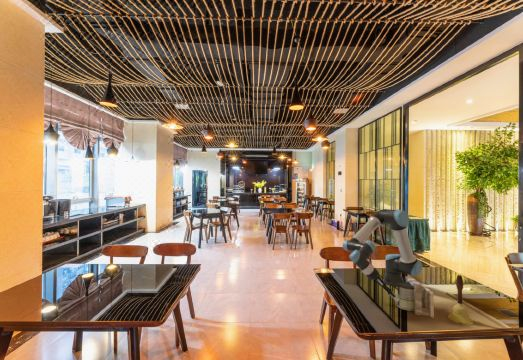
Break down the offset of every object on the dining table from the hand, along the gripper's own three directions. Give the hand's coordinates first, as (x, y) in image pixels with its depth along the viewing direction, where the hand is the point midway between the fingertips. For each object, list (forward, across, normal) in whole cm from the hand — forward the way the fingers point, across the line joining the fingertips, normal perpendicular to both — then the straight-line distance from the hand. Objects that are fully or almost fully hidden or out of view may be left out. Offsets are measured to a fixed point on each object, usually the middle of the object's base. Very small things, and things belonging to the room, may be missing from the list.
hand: (398, 300), depth 171 cm
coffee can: (+7, -2, 0) cm, 8 cm away
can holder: (+12, 0, +5) cm, 13 cm away
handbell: (+25, +9, +18) cm, 33 cm away
